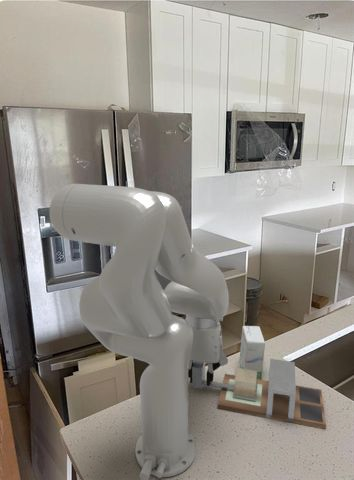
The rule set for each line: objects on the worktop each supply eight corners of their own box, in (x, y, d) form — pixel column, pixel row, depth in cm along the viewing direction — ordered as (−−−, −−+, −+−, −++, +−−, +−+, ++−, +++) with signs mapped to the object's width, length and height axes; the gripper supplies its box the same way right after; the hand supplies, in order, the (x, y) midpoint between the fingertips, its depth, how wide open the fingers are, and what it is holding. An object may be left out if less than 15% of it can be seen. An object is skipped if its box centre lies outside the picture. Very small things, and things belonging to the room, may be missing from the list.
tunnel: (293, 422, 85) (295, 393, 82) (266, 417, 86) (268, 389, 84) (292, 388, 96) (294, 362, 93) (268, 384, 97) (270, 358, 95)
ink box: (239, 361, 107) (240, 324, 104) (257, 361, 107) (259, 325, 104) (243, 380, 99) (245, 341, 96) (263, 380, 99) (265, 341, 95)
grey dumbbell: (255, 401, 89) (256, 380, 87) (191, 389, 93) (191, 369, 92) (257, 385, 95) (258, 365, 93) (196, 374, 99) (196, 355, 97)
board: (325, 429, 83) (326, 424, 82) (217, 408, 89) (217, 404, 89) (320, 393, 94) (321, 389, 93) (224, 377, 100) (225, 373, 100)
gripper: (237, 315, 91) (234, 377, 97) (173, 307, 96) (174, 367, 101) (233, 330, 84) (230, 396, 90) (164, 321, 89) (165, 385, 94)
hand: (200, 380), depth 95 cm, fingers closed on grey dumbbell, 3 cm apart
